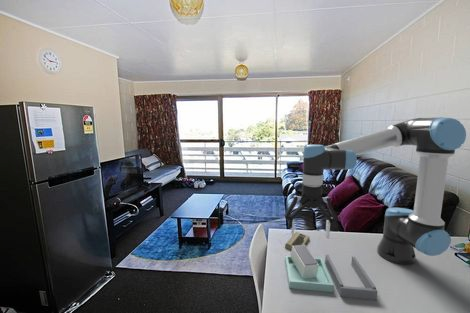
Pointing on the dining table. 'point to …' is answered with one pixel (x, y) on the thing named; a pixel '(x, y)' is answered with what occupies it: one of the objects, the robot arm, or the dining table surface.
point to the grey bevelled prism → (304, 261)
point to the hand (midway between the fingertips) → (309, 236)
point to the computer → (297, 240)
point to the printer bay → (353, 292)
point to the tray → (315, 283)
